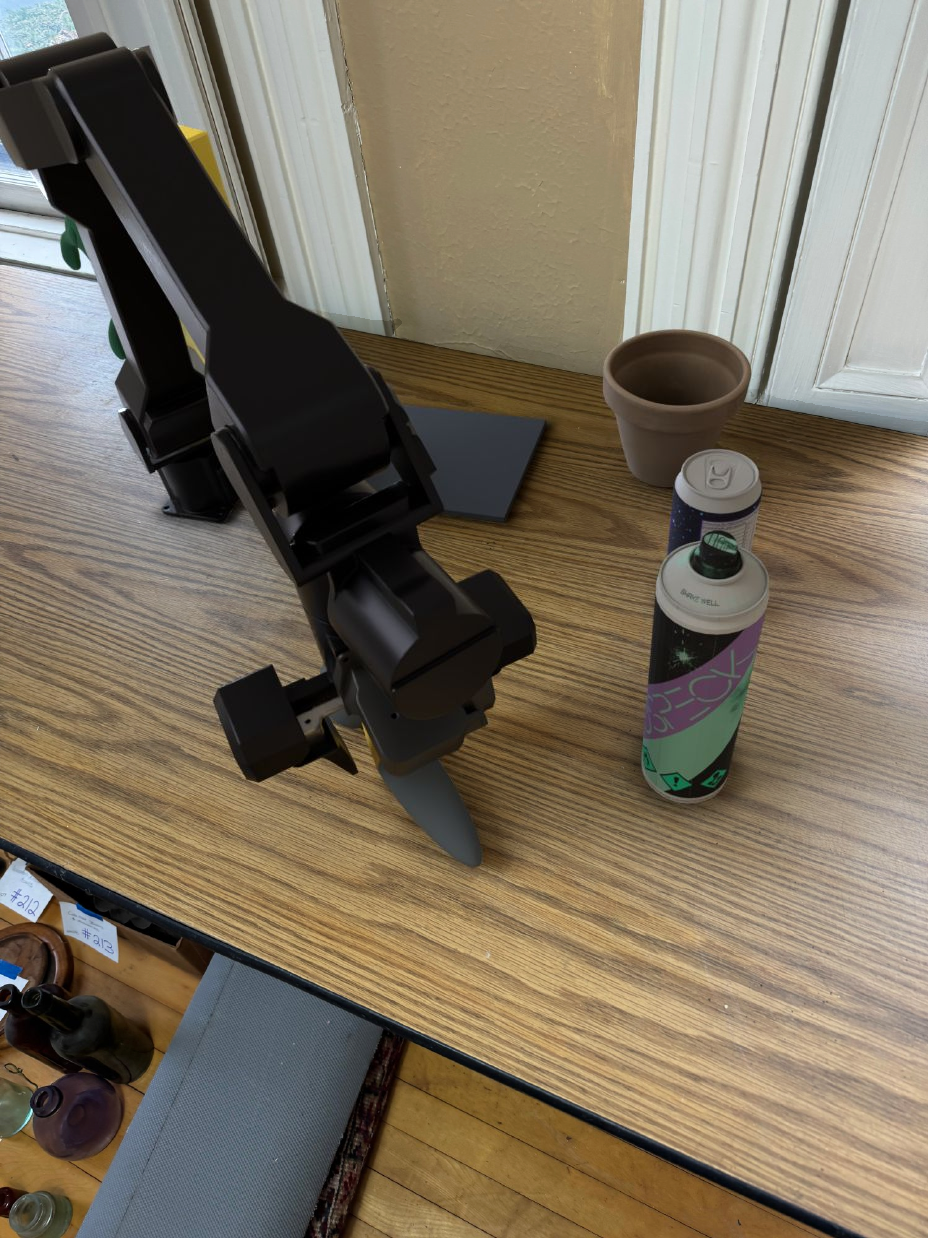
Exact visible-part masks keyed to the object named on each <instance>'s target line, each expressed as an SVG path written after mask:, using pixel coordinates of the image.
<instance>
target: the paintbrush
mask: <svg viewBox="0 0 928 1238" xmlns="http://www.w3.org/2000/svg"><path fill="white" fill-rule="evenodd" d="M326 671H327V670H326V668H325V665H324V662H323V661H322V665H321V667H320V671H319V674H321V673H324V672H326ZM329 718H330V719H331V721H332V722H334V723H335V724H337V725H339V726H341V727H344V728H346V729H352V730H354V729H357V730H358V729H363V733H364V736H365V740H366V742H367V745H368V748H369V750H370V755H371V757H372V759H373V762H374V765H375V767H376V770H377V772H378V774H379V776H380V777H381V779H382V781H383V782H384V783H385V785H386V787H387V788H388V790H389V791H390V792H391V794H392V795H393V796H394V797H395V799H396V801H397V802H398V803H399V804H400V806H401V807H402V808H403V809H404V810H405V811H406V813H407V814H408V815H409V816H410V818H411V819H412V820H413V821H414V822H415V823H416V824H417V825H418V827H419V828H420V829H422V831H423V832H424V833H425V834H426V836H428V837H429V838H430V839H431V840H432V841H433V842H434V843H435V844H436V845H437V846H439V848H440V849H441V850H443V851H444V852H445V853H446V854H447V855H449V856H450V857H451V858H452V859H454V860H455V861H457V862H459V863H460V864H463V865H464V866H466V867H470V868H479V867H480V866H481V865H482V863H483V857H484V856H483V847H482V842H481V839H480V836H479V833H478V832H479V831H478V829H477V827H476V825H475V823H474V820H473V818H472V815H471V813H470V811H469V809H468V807H467V805H466V803H465V801H464V800H463V798H462V796H461V794H460V791H459V790H458V788H457V786H456V785H455V783H454V781H453V780H452V778H451V776H450V775H449V773H448V771H447V770H446V768H445V766H444V765H443V763H442V762H441V761H440V758H439V759H437V760H435V761H433V762H431V763H429V764H427V765H425V766H423V767H421V768H419V769H417V770H416V771H415V772H413V773H411V774H408V775H406V776H402V777H397V776H393V775H391V774H389V773H388V772H387V771H386V770H385V769H384V767H383V765H382V763H381V761H380V759H379V756H378V754H377V752H376V750H375V748H374V746H373V744H372V742H371V740H370V738H369V736H368V733H367V731H366V729H365V727H364V725H363V723H362V721H361V718H360V715H354V714H352V715H350V716H348V715H347V713H346V711H345V709H342V710H340V711H338V712H336V713H334V714H331V715H329Z"/></svg>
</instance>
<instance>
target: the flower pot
mask: <svg viewBox="0 0 928 1238" xmlns="http://www.w3.org/2000/svg"><path fill="white" fill-rule="evenodd" d="M602 376H603V377H602V393H603V398H604V400H605V403H606V404H607V406H608V407H609V408H610V410H612V412H613V413H614V414H615V419H616V424H617V429H618V434H619V438H620V442H621V447H622V450H623V454H624V457H625V460H626V464H627V467H628V469H629V471H630V472H631V474H632V475H633V476H634V477H635V478H636V479H637V480H639V481H640V482H642V483H644V484H647V485H648V486H653V487H658V488H674V482H675V479H676V477H677V476H678V474H679V473H680V472H681V469H682V466H683V464H684V463H685V461H686V460H687V459H688V458H689V457H691V456H693V455H694V454H696V453H699V452H702V451H706V450H712V449H716V446H717V443H718V441H719V439H720V437H721V434H722V433H723V430H724V427H725V425H726V423H727V422H728V421H730V420H731V419H733V417H735V416H736V415H737V414H738V413H739V411H740V410H741V409H742V407H743V406H744V404H745V401H746V398H747V395H748V391H749V386H750V383H751V379H752V367H751V364H750V360H749V359H748V357H747V356H746V354H745V353H744V352H743V351H742V350H741V349H740V348H739V347H738V346H737V345H735V344H734V343H732V342H730V341H728V340H727V339H725V338H723V337H720V336H717V335H715V334H711V333H708V332H705V331H699V330H692V329H684V328H683V329H681V328H679V329H677V328H676V329H675V328H671V329H669V328H668V329H659V330H652V331H648V332H643V333H639V334H637V335H634V336H632V337H629V338H627V339H625V340H624V341H622V342H620V343H619V344H616V346H615V347H614V348H612V349H611V350H610V352H609V353H608V355H607V356H606V358H605V359H604V362H603V368H602Z"/></svg>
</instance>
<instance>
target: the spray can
mask: <svg viewBox="0 0 928 1238" xmlns="http://www.w3.org/2000/svg"><path fill="white" fill-rule="evenodd" d="M658 571H659V572H658V576H657V578H656V582H655V591H654V592H655V593H654V604H653V617H652V629H651V640H650V654H649V665H648V675H647V676H648V677H647V689H646V700H645V701H646V702H645V711H644V712H645V713H644V724H643V734H642V736H643V737H642V745H641V747H642V748H641V759H640V760H641V762H640V763H641V771H642V774H643V776H644V779H645V781H646V783H647V784H648V785H649V787H650V788H651V789H652V790H653V791H654V792H655V793H657V794H658V795H659V796H661V797H663V798H664V799H667V800H669V801H671V802H675V803H679V804H688V805H689V804H690V805H691V804H699V803H702V802H706V801H708V800H711V799H712V798H714V797H715V796H716V795H717V794H719V793H720V791H722V789H723V788H724V786H725V784H726V783H727V779H728V777H729V772H730V769H731V763H732V759H733V754H734V751H735V746H736V741H737V738H738V733H739V729H740V725H741V720H742V715H743V711H744V707H745V702H746V699H747V694H748V689H749V685H750V682H751V678H752V673H753V668H754V664H755V659H756V655H757V651H758V647H759V643H760V642H759V641H760V638H761V633H762V629H763V625H764V620H765V616H766V613H767V612H766V611H767V607H768V603H769V598H770V576H769V573H768V569H767V567H766V566H765V565H764V563H763V561H761V560H760V558H759V557H758V556H756V554H754V553H753V552H752V551H751V552H750V551H748V550H746V549H744V548H742V547H740V546H738V544H737V541H736V539H735V538H734V536H732V535H731V534H730V533H728V532H726V531H720V530H715V531H710V532H708V533H706V534H705V535H704V536H703V537H702V541H697V542H693V543H689V544H686V545H683V546H681V547H679V548H677V549H676V550H674V551H672V552H671V553H670V554H669V555H668V556H667V555H666V556H665V558H664V560H663V561H662V563H661V565H660V567H659V570H658Z"/></svg>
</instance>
